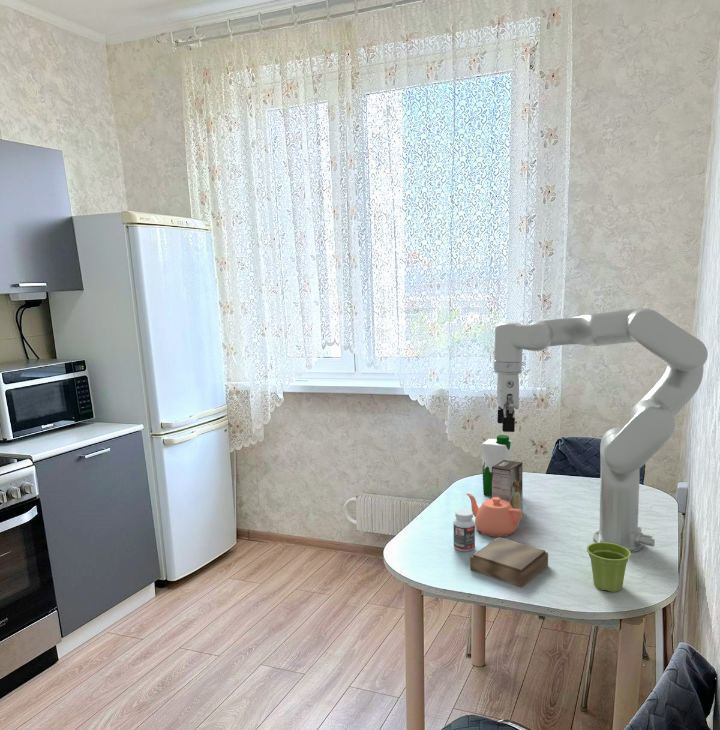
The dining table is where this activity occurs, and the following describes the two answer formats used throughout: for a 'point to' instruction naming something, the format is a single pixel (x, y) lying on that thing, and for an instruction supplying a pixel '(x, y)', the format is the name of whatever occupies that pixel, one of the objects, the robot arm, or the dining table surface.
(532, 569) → the walnut base
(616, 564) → the plant pot
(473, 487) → the dining table surface
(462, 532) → the pill bottle
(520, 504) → the coffee box
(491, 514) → the teapot
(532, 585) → the dining table surface
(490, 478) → the milk carton
